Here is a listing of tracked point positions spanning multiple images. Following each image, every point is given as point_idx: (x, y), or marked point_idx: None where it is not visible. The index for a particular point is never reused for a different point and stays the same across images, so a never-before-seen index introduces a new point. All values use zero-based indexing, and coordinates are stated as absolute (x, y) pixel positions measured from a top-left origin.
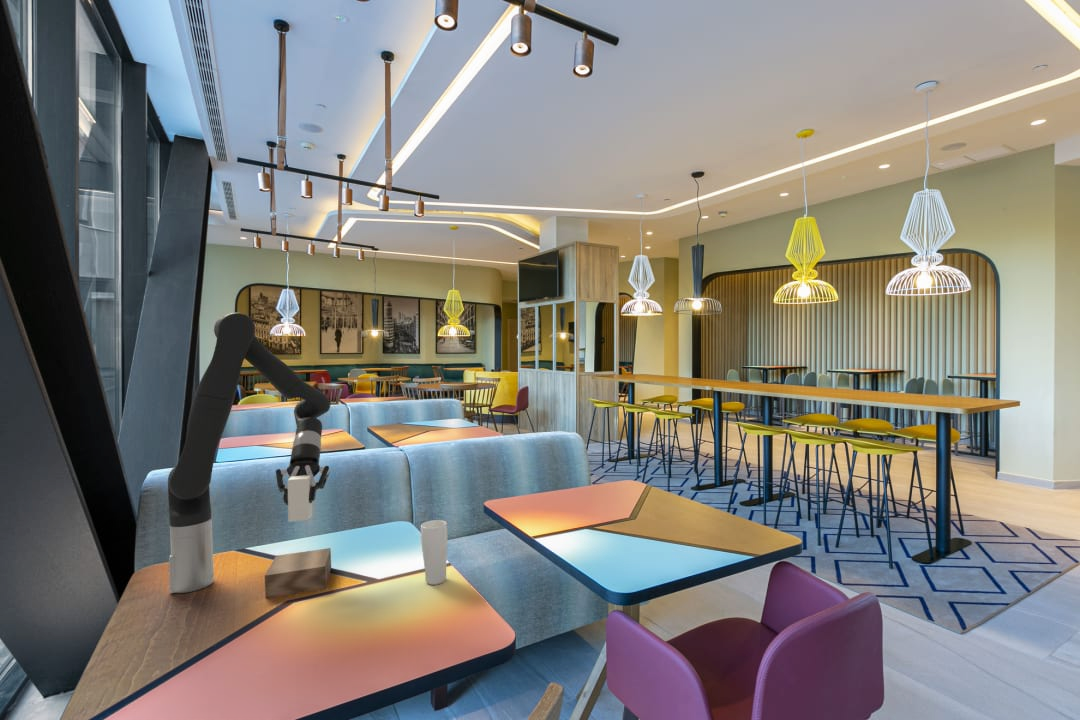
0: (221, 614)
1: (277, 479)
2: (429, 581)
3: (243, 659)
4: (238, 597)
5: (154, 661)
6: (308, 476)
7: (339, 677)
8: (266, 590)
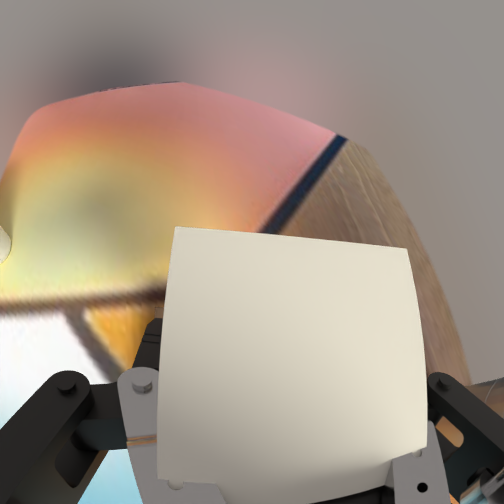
0: None
1: (493, 413)
2: (8, 236)
3: (257, 151)
4: None
5: (356, 190)
6: (184, 386)
7: (162, 101)
8: None
